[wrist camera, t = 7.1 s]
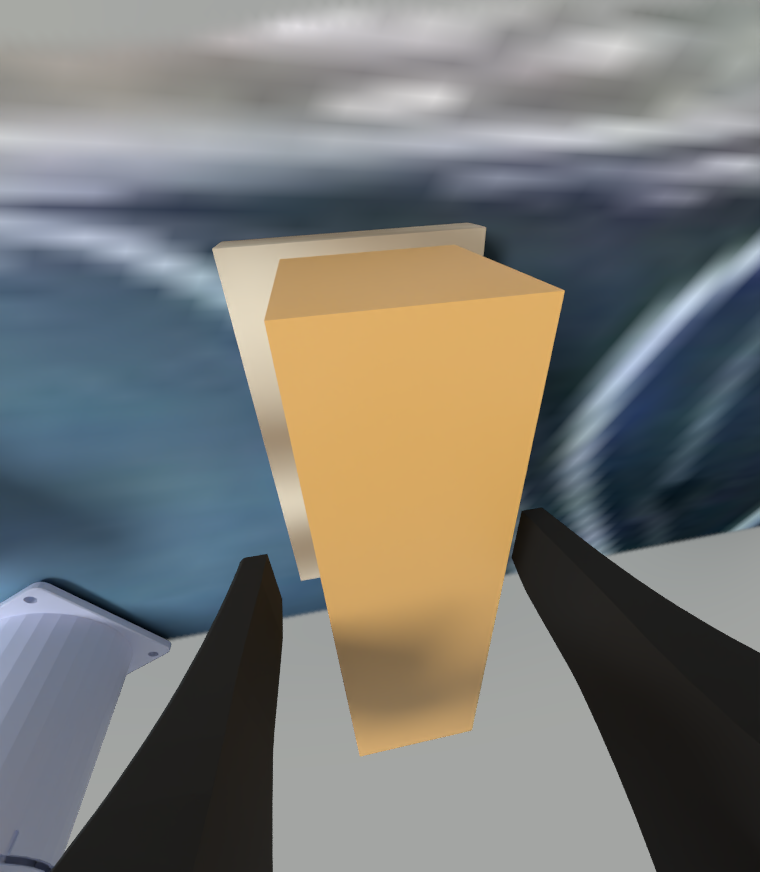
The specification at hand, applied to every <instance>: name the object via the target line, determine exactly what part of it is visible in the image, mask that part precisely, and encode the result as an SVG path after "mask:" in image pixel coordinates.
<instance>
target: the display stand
mask: <svg viewBox="0 0 760 872" xmlns="http://www.w3.org/2000/svg"><path fill="white" fill-rule="evenodd" d="M485 234H486V227H483V226H479V225H475V224H471V223H458V224H445V225H432V226H419V227H406V228H393V229H380V230H367V231H354V232H341V233H328V234H316V235H303V236H290V237H277V238H264V239H251V240H238V241H225V242H220V243H219V244H218V245H217V246H215V247H214V248H213V249H212V250H213V254H214V257H215V261H216V265H217V269H218V272H219V276H220V280H221V283H222V287H223V291H224V295H225V298H226V302H227V306H228V309H229V313H230V317H231V321H232V324H233V328H234V332H235V336H236V339H237V343H238V347H239V350H240V354H241V358H242V362H243V365H244V369H245V373H246V377H247V380H248V384H249V388H250V391H251V395H252V399H253V403H254V406H255V410H256V414H257V418H258V421H259V425H260V429H261V432H262V436H263V440H264V444H265V447H266V451H267V455H268V459H269V462H270V466H271V470H272V473H273V477H274V481H275V485H276V488H277V492H278V496H279V499H280V503H281V507H282V511H283V514H284V518H285V522H286V526H287V529H288V533H289V537H290V540H291V544H292V548H293V552H294V555H295V559H296V563H297V567H298V570H299V574H300V578H301V581H302V580H308V579H313V578H319V577H320V573H319V568H318V564H317V559H316V555H315V550H314V545H313V541H312V536H311V532H310V527H309V523H308V518H307V514H306V509H305V505H304V500H303V496H302V491H301V486H300V482H299V477H298V473H297V468H296V464H295V459H294V455H293V450H292V446H291V441H290V436H289V432H288V427H287V423H286V418H285V414H284V409H283V405H282V400H281V396H280V391H279V386H278V382H277V377H276V373H275V368H274V364H273V359H272V355H271V350H270V346H269V341H268V336H267V332H266V327H265V323H264V319H265V315H266V311H267V307H268V303H269V299H270V295H271V291H272V287H273V284H274V280H275V276H276V272H277V268H278V264H279V260H280V259H288V258H300V257H312V256H324V255H336V254H348V253H360V252H372V251H384V250H396V249H408V248H420V247H432V246H444V245H457V246H459V247H462V248H464V249H467V250H469V251H471V252H474V253H476V254H479V255H481V256H483V255H484V244H485Z"/></svg>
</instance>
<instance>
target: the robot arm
mask: <svg viewBox="0 0 760 872" xmlns="http://www.w3.org/2000/svg"><path fill="white" fill-rule="evenodd" d="M512 559H513V562H514V564H515V567H516V569H517V572H518V574H519V577H520V579H521V581H522V583H523V586H524V588H525V590H526V592H527V594H528V596H529V597H530V600H531V601H532V603H533V604H534V607H535V608H536V610H537V612H538V614H539V616H540V617H541V619H542V621H543V622H544V624H545V626H546V628H547V629H548V631H549V633H550V635H551V636H552V638H553V640H554V642H555V643H556V645H557V647H558V649H559V650H560V652H561V654H562V656H563V657H564V659H565V661H566V662H567V664H568V666H569V668H570V670H571V672H572V673H573V676H574V677H575V679H576V681H577V683H578V685H579V687H580V689H581V691H582V694H583V696H584V698H585V700H586V702H587V704H588V707H589V709H590V711H591V713H592V715H593V717H594V720H595V722H596V724H597V726H598V729H599V730H600V733H601V735H602V737H603V740H604V742H605V745H606V746H607V749H608V751H609V754H610V756H611V758H612V761H613V763H614V765H615V767H616V770H617V772H618V775H619V777H620V779H621V782H622V785H623V787H624V789H625V792H626V794H627V797H628V799H629V801H630V804H631V806H632V809H633V811H634V814H635V816H636V819H637V822H638V824H639V827H640V829H641V832H642V835H643V837H644V840H645V842H646V845H647V848H648V850H649V853H650V856H651V858H652V861H653V864H654V866H655V869H656V872H760V653H759V652H757V651H755V650H753V649H752V648H750V647H748V646H746V645H744V644H742V643H740V642H739V641H737V640H735V639H733V638H731V637H729V636H728V635H726V634H724V633H722V632H720V631H719V630H717V629H715V628H713V627H712V626H710V625H708V624H707V623H705V622H703V621H702V620H700V619H698V618H697V617H695V616H693V615H692V614H690V613H688V612H687V611H685V610H683V609H682V608H680V607H678V606H676V605H675V604H674V603H672V602H671V601H669V600H667V599H665V598H664V597H663V596H661V595H660V594H658V593H657V592H655V591H654V590H652V589H650V588H649V587H648V586H646V585H645V584H643V583H642V582H640V581H639V580H637V579H636V578H634V577H633V576H632V575H630V574H629V573H627V572H626V571H625V570H623V569H622V568H620V567H619V566H618V565H616V564H615V563H613V562H612V561H611V560H609V559H608V558H607V557H605V556H604V555H603V554H601V553H600V552H599V551H597V550H596V549H595V548H593V547H592V546H591V545H589V544H588V543H587V542H586V541H584V540H583V539H582V538H580V537H579V536H578V535H576V534H575V533H574V532H573V531H571V530H570V529H569V528H567V527H566V526H565V525H564V524H562V523H561V522H560V521H559V520H557V519H556V518H555V517H553V516H552V515H551V514H549V513H548V512H547V511H546V510H544V509H543V508H536V509H530V510H525V511H522V512H521V517H520V522H519V526H518V531H517V535H516V540H515V544H514V549H513V554H512ZM282 625H283V618H282V598H281V595H280V591H279V588H278V585H277V582H276V579H275V576H274V573H273V570H272V567H271V564H270V561H269V558H268V555H267V554H265V555H259V556H253V557H247V558H243V560H242V561H241V562H240V564H239V567H238V569H237V572H236V574H235V577H234V579H233V581H232V584H231V586H230V588H229V590H228V593H227V595H226V597H225V599H224V601H223V603H222V605H221V608H220V610H219V612H218V614H217V616H216V618H215V620H214V622H213V624H212V626H211V628H210V630H209V632H208V634H207V636H206V638H205V640H204V642H203V644H202V645H201V648H200V649H199V651H198V653H197V655H196V657H195V658H194V660H193V662H192V664H191V665H190V667H189V669H188V671H187V673H186V674H185V676H184V678H183V680H182V681H181V683H180V685H179V687H178V689H177V690H176V692H175V693H174V695H173V697H172V698H171V700H170V702H169V703H168V705H167V707H166V708H165V710H164V712H163V713H162V715H161V716H160V718H159V720H158V721H157V723H156V724H155V726H154V727H153V729H152V730H151V732H150V734H149V735H148V737H147V738H146V740H145V741H144V743H143V744H142V746H141V747H140V749H139V750H138V752H137V753H136V755H135V756H134V758H133V759H132V761H131V762H130V764H129V765H128V766H127V768H126V769H125V771H124V772H123V774H122V775H121V777H120V778H119V780H118V781H117V782H116V784H115V785H114V787H113V788H112V790H111V791H110V792H109V794H108V795H107V797H106V798H105V799H104V801H103V802H102V803H101V805H100V806H99V808H98V809H97V811H96V812H95V813H94V814H93V816H92V817H91V818H90V820H89V821H88V822H87V824H86V825H85V826H84V827H83V829H82V830H81V831H80V833H79V834H78V835H77V837H76V838H75V839H74V841H73V842H72V843H71V845H70V846H69V847H68V849H67V850H66V851H65V848H66V845H67V843H68V840H69V837H70V834H71V831H72V829H73V826H74V823H75V820H76V817H77V814H78V811H79V809H80V806H81V803H82V800H83V797H84V794H85V791H86V788H87V786H88V783H89V780H90V777H91V774H92V771H93V769H94V766H95V763H96V760H97V757H98V754H99V751H100V749H101V746H102V743H103V740H104V737H105V734H106V732H107V728H108V725H109V723H110V720H111V717H112V714H113V712H114V709H115V706H116V703H117V700H118V697H119V694H120V692H121V689H122V686H123V683H124V680H125V677H126V675H127V674H129V673H131V672H133V671H134V670H136V669H138V668H140V667H142V666H144V665H146V664H148V663H149V662H151V661H153V660H155V659H157V658H159V657H161V656H163V655H164V654H166V653H168V652H169V650H170V647H171V642H169V641H168V640H166V639H164V638H162V637H160V636H158V635H156V634H154V633H151V632H149V631H147V630H145V629H143V628H141V627H139V626H137V625H135V624H133V623H131V622H128V621H126V620H124V619H122V618H120V617H118V616H116V615H114V614H112V613H110V612H108V611H106V610H103V609H101V608H99V607H97V606H95V605H93V604H91V603H89V602H87V601H85V600H83V599H80V598H78V597H76V596H74V595H72V594H70V593H68V592H66V591H64V590H62V589H60V588H57V587H55V586H53V585H51V584H49V583H46V582H36V583H33V584H31V585H29V586H28V587H26V588H24V589H23V590H21V591H20V592H18V593H16V594H15V595H13V596H11V597H10V598H8V599H7V600H5V601H3V602H2V603H0V872H273V864H272V863H273V861H272V795H273V794H272V792H273V790H272V789H273V745H274V744H273V743H274V728H275V718H276V707H277V697H278V686H279V675H280V664H281V652H282V641H283V640H282V639H283V626H282ZM64 851H65V853H64Z"/></svg>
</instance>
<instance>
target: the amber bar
mask: <svg viewBox="0 0 760 872" xmlns="http://www.w3.org/2000/svg"><path fill="white" fill-rule="evenodd" d="M564 292H565V290H562V289H560V288H557V287H555V286H553V285H550V284H548V283H546V282H543V281H541V280H538V279H536V278H534V277H531V276H529V275H526V274H524V273H522V272H519V271H517V270H514V269H512V268H510V267H507V266H505V265H503V264H500V263H498V262H495V261H493V260H491V259H488V258H486V257H483V256H481V255H479V254H476V253H474V252H471V251H469V250H467V249H464V248H462V247H459V246H457V245H444V246H432V247H420V248H408V249H396V250H384V251H372V252H360V253H348V254H336V255H324V256H312V257H300V258H288V259H280V260H279V264H278V268H277V272H276V276H275V280H274V284H273V287H272V291H271V295H270V299H269V303H268V307H267V311H266V315H265V319H264V323H265V327H266V332H267V336H268V341H269V346H270V350H271V355H272V359H273V364H274V368H275V373H276V377H277V382H278V386H279V391H280V396H281V400H282V405H283V409H284V414H285V418H286V423H287V427H288V432H289V436H290V441H291V446H292V450H293V455H294V459H295V464H296V468H297V473H298V477H299V482H300V486H301V491H302V496H303V500H304V505H305V509H306V514H307V518H308V523H309V527H310V532H311V536H312V541H313V545H314V550H315V555H316V559H317V564H318V568H319V573H320V577H321V582H322V586H323V591H324V595H325V600H326V605H327V609H328V614H329V618H330V623H331V627H332V632H333V636H334V641H335V645H336V650H337V654H338V659H339V664H340V668H341V673H342V677H343V682H344V686H345V691H346V695H347V700H348V705H349V709H350V714H351V718H352V722H353V727H354V732H355V736H356V740H357V745H358V750H359V754H360V756H364V755H368V754H373V753H377V752H382V751H386V750H390V749H394V748H399V747H403V746H407V745H411V744H415V743H420V742H424V741H428V740H433V739H437V738H441V737H446V736H450V735H454V734H458V733H463V732H467V731H471V730H472V727H473V722H474V717H475V713H476V708H477V703H478V699H479V694H480V689H481V684H482V679H483V675H484V670H485V665H486V661H487V656H488V651H489V646H490V642H491V636H492V632H493V628H494V623H495V618H496V613H497V609H498V604H499V599H500V595H501V590H502V585H503V580H504V576H505V571H506V566H507V561H508V557H509V552H510V547H511V543H512V538H513V533H514V528H515V524H516V519H517V514H518V509H519V505H520V500H521V495H522V491H523V486H524V481H525V476H526V472H527V467H528V462H529V457H530V453H531V448H532V443H533V439H534V434H535V429H536V424H537V420H538V415H539V410H540V405H541V401H542V396H543V391H544V387H545V382H546V377H547V372H548V368H549V363H550V358H551V353H552V349H553V344H554V339H555V335H556V330H557V325H558V320H559V316H560V311H561V306H562V301H563V297H564Z"/></svg>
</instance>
